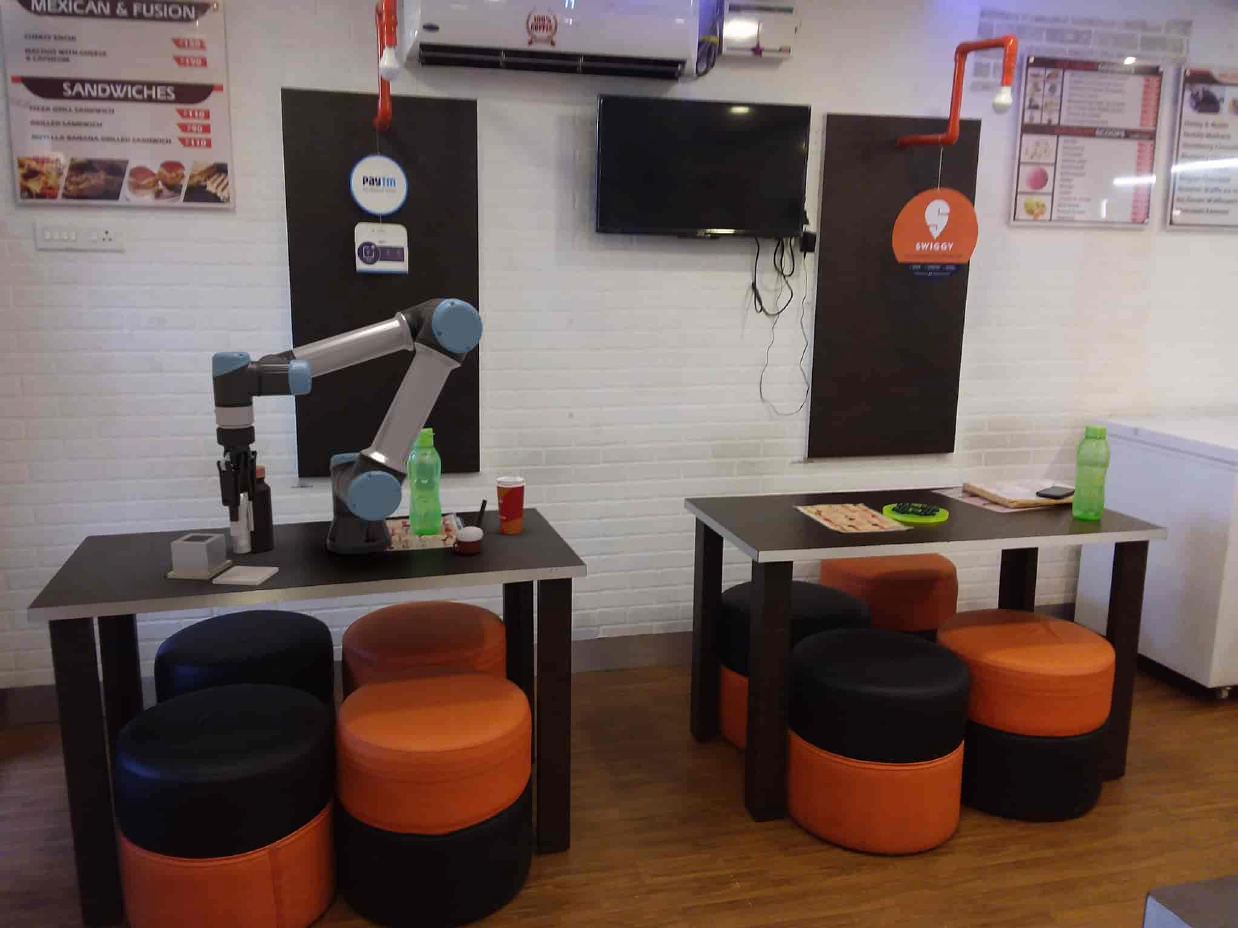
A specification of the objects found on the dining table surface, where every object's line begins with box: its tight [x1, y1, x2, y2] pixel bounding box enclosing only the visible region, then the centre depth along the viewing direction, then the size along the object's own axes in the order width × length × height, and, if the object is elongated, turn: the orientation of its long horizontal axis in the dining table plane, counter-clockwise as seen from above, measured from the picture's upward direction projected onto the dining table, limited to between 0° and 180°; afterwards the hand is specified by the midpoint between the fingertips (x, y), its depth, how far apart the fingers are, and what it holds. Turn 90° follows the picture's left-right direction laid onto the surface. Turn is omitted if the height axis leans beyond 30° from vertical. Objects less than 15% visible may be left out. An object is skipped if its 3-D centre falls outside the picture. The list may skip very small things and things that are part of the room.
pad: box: [212, 565, 279, 586], centre depth 206 cm, size 10×10×1 cm
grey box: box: [166, 532, 233, 581], centre depth 211 cm, size 9×16×8 cm, turn 175°
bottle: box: [249, 465, 275, 553], centre depth 225 cm, size 7×7×20 cm
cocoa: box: [452, 499, 488, 556], centre depth 224 cm, size 10×6×12 cm, turn 111°
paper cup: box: [495, 476, 527, 536], centre depth 242 cm, size 8×8×14 cm
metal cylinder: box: [231, 491, 251, 554], centre depth 203 cm, size 4×4×13 cm
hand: (242, 532), depth 204 cm, fingers closed on metal cylinder, 3 cm apart
